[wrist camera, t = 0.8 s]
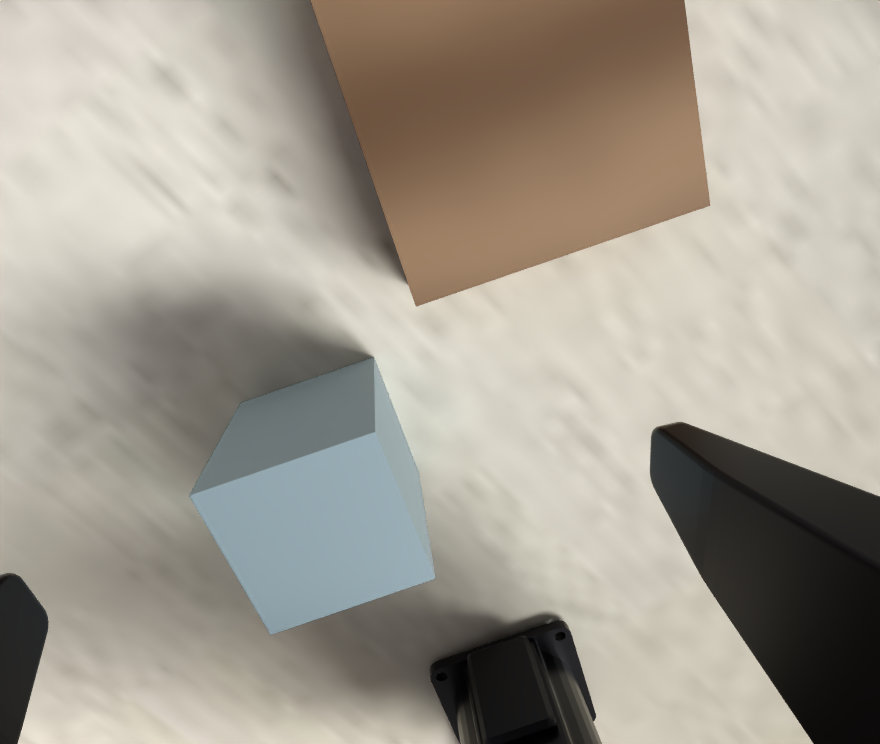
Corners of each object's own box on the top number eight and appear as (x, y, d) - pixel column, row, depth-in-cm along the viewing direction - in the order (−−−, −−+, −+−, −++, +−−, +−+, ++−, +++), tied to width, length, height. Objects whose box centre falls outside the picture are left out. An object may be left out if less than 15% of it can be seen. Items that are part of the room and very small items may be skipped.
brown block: (659, 199, 19) (710, 205, 16) (409, 286, 19) (416, 306, 16) (608, -119, 16) (661, -182, 13) (305, -15, 16) (291, -55, 13)
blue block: (418, 471, 21) (435, 578, 16) (296, 513, 21) (270, 635, 16) (374, 356, 20) (375, 431, 14) (240, 402, 20) (189, 495, 14)
